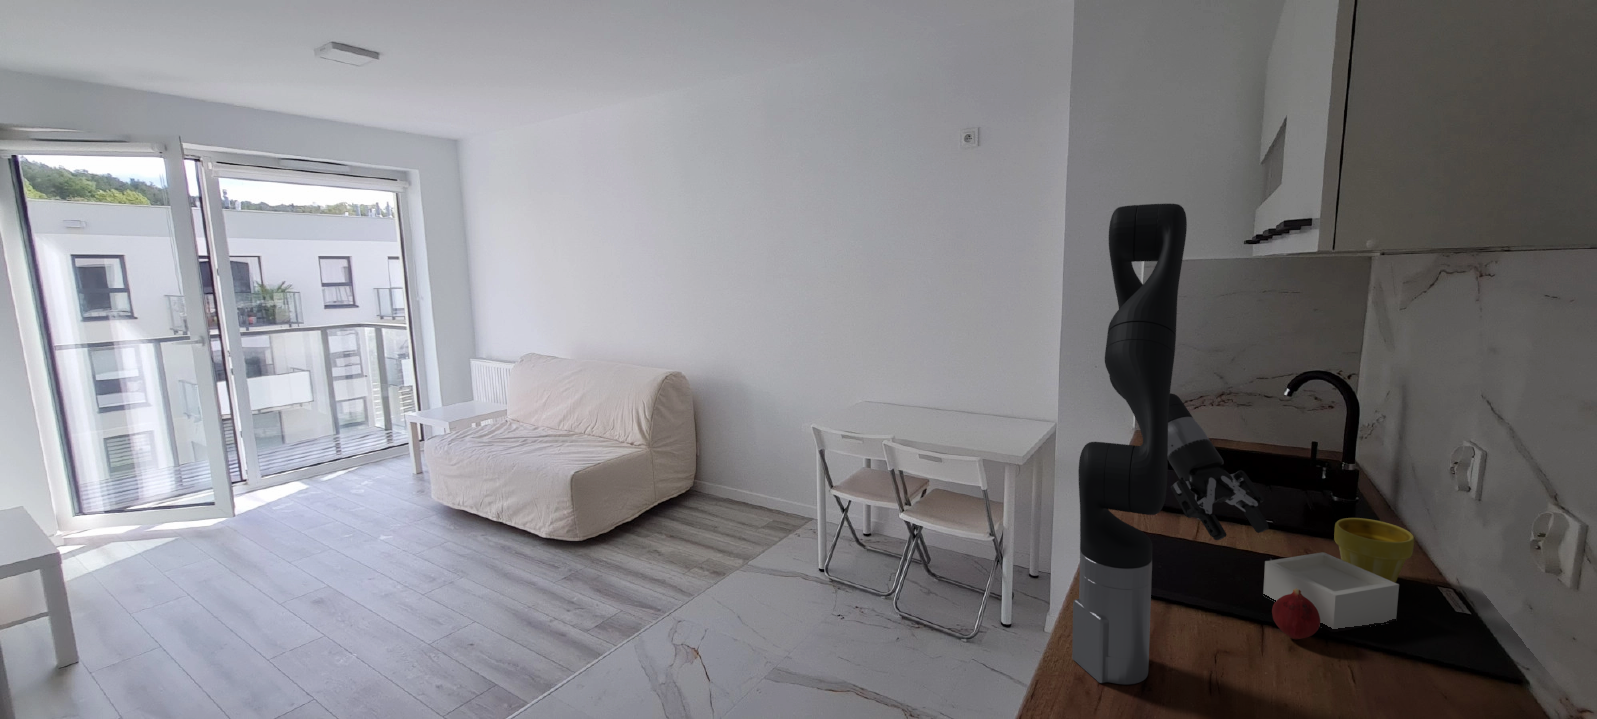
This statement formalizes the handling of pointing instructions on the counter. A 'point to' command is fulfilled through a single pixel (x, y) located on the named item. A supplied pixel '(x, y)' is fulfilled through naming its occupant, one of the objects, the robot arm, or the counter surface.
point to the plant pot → (1374, 545)
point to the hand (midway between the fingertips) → (1242, 534)
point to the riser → (1334, 589)
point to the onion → (1296, 615)
